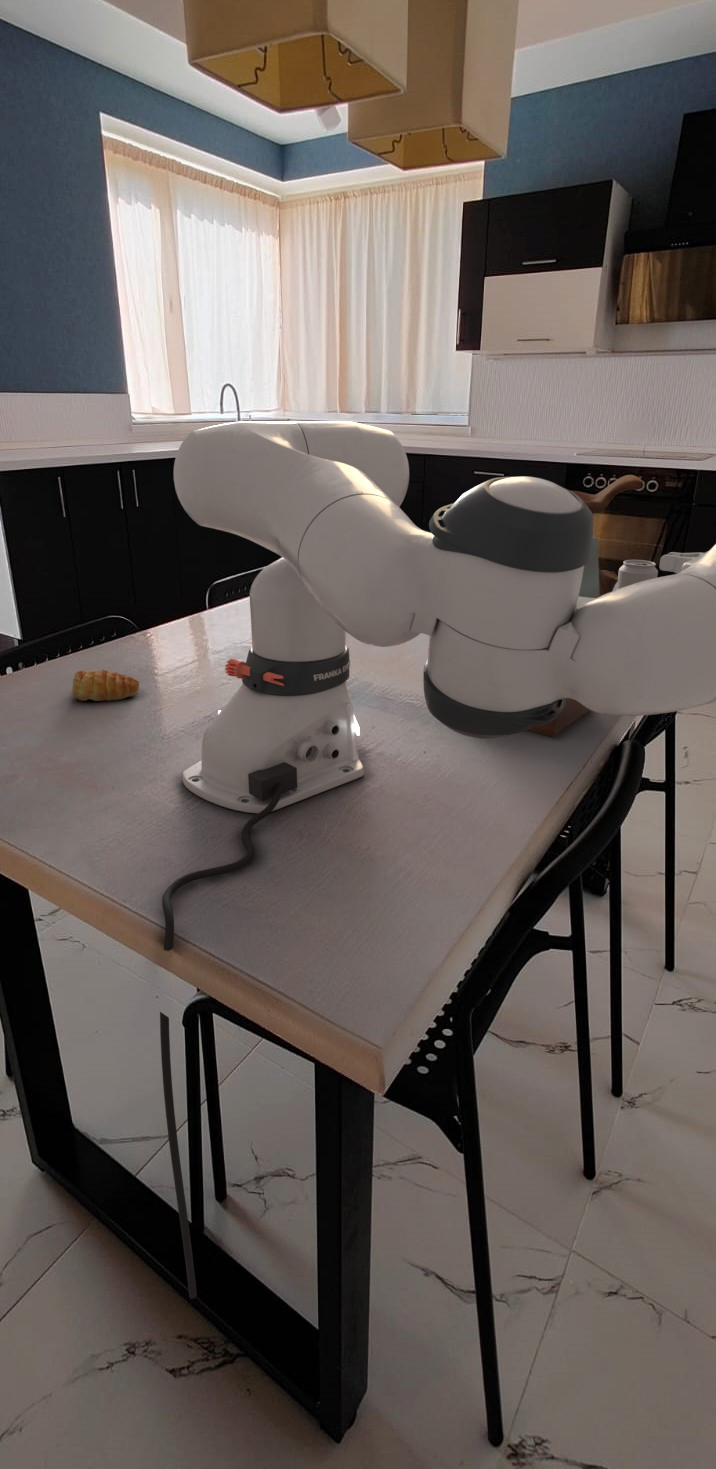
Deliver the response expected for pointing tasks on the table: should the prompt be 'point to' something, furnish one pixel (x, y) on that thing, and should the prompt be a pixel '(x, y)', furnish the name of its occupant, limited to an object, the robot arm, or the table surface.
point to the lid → (591, 574)
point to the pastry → (103, 685)
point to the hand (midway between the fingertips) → (663, 560)
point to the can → (635, 572)
